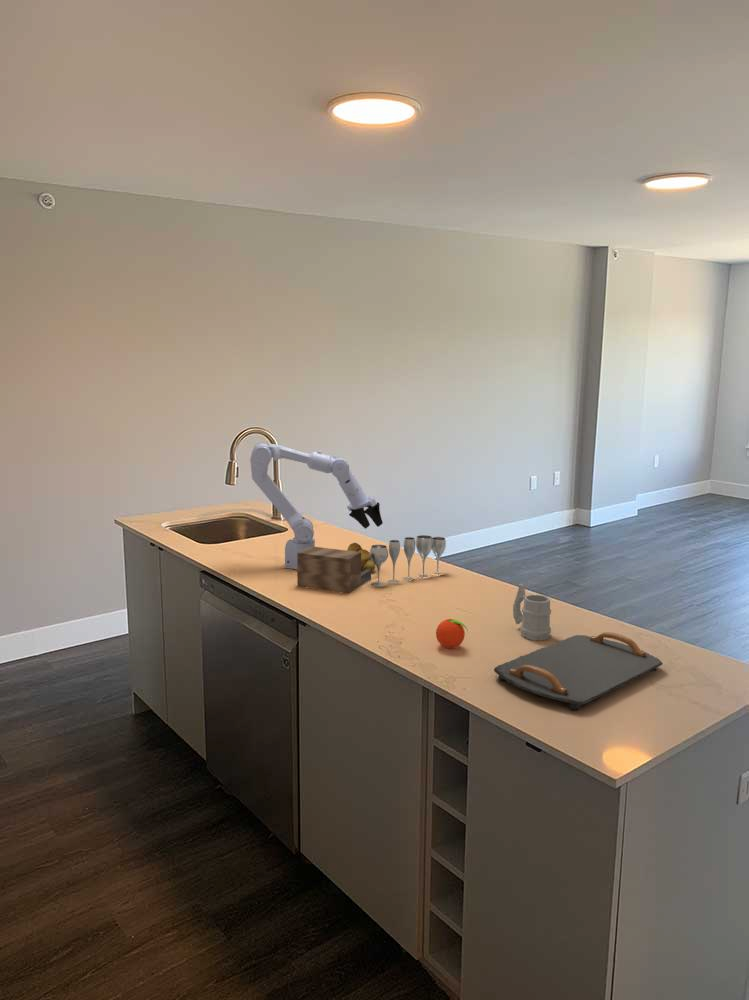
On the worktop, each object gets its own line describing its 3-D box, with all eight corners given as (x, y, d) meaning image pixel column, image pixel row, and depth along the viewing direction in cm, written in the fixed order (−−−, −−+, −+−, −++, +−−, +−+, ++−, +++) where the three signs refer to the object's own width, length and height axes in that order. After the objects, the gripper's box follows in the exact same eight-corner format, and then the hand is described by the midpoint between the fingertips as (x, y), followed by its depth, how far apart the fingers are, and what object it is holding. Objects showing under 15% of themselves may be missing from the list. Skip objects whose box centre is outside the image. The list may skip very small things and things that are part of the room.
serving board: (573, 721, 149) (575, 691, 148) (481, 683, 166) (482, 656, 165) (670, 670, 175) (673, 644, 174) (582, 641, 192) (584, 618, 191)
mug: (535, 643, 189) (537, 596, 187) (502, 629, 199) (504, 584, 196) (557, 637, 193) (560, 591, 191) (523, 623, 203) (526, 580, 201)
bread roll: (381, 571, 251) (382, 547, 249) (359, 576, 244) (360, 552, 243) (355, 563, 260) (355, 540, 258) (333, 568, 253) (333, 544, 252)
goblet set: (437, 571, 252) (439, 531, 249) (448, 575, 247) (450, 535, 245) (365, 583, 237) (366, 541, 235) (375, 588, 232) (376, 545, 230)
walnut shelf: (297, 586, 233) (297, 552, 231) (322, 572, 248) (322, 540, 246) (348, 593, 226) (348, 559, 224) (371, 579, 241) (371, 546, 240)
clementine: (472, 645, 187) (473, 617, 185) (463, 655, 181) (464, 626, 179) (441, 640, 190) (441, 612, 189) (431, 649, 184) (432, 621, 182)
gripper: (373, 482, 247) (394, 517, 250) (350, 487, 259) (369, 521, 262) (358, 493, 243) (379, 529, 246) (335, 498, 255) (355, 532, 258)
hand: (373, 526), depth 254 cm, fingers open, 7 cm apart
